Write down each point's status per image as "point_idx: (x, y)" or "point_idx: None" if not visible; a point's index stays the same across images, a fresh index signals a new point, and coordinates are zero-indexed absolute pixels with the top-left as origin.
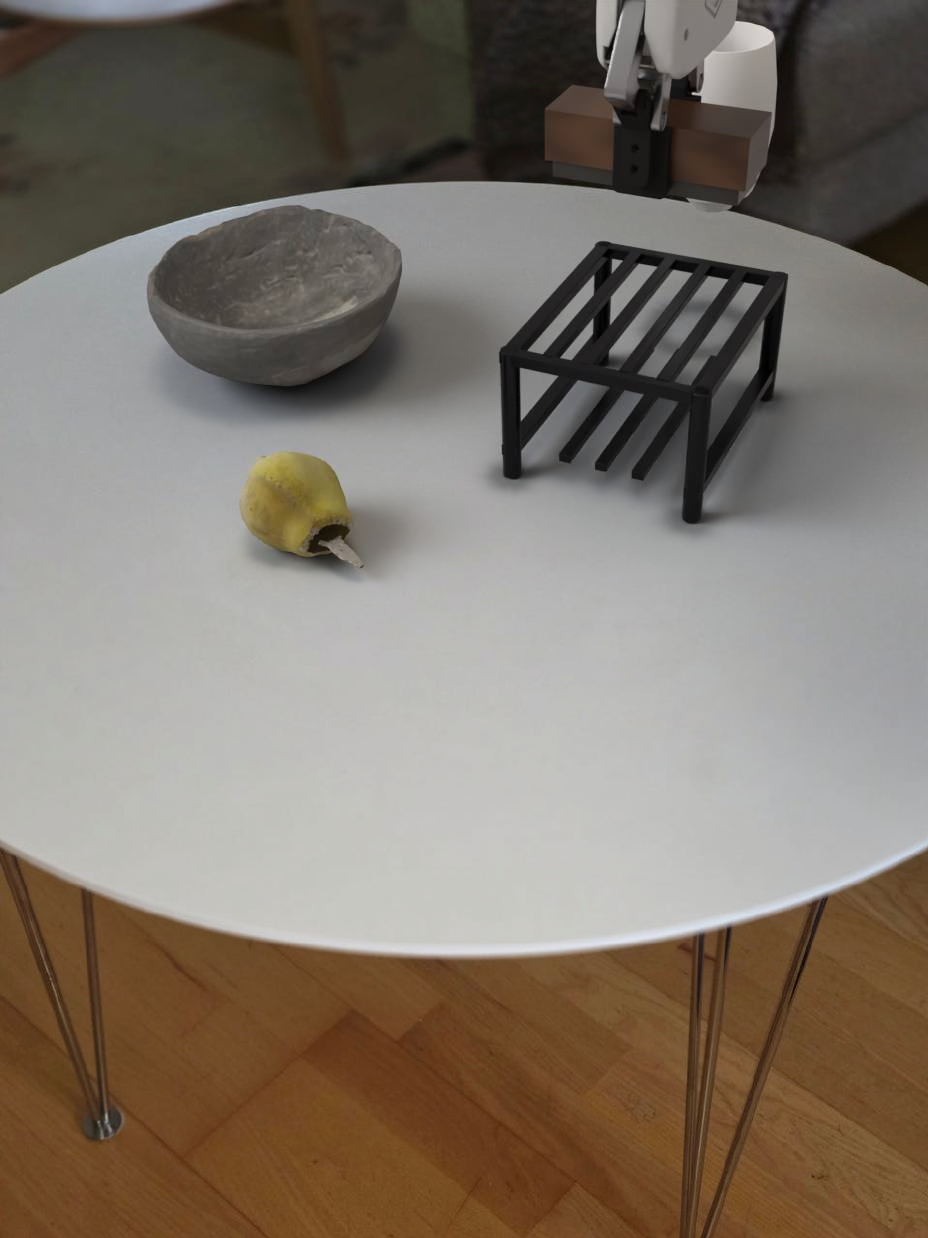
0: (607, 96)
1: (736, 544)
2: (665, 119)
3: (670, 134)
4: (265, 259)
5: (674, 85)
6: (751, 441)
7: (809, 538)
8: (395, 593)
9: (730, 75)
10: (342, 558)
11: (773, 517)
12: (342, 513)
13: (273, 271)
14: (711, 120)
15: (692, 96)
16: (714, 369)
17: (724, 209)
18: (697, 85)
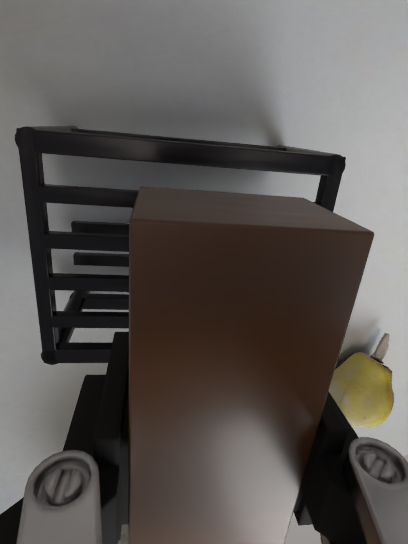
0: None
1: (304, 107)
2: (356, 459)
3: (331, 417)
4: (122, 538)
5: (115, 517)
6: (154, 130)
7: (284, 43)
8: (388, 308)
9: None
10: (387, 346)
11: (262, 83)
12: (376, 365)
13: (123, 525)
14: (257, 365)
15: (108, 454)
16: (289, 164)
17: None
18: (92, 476)
